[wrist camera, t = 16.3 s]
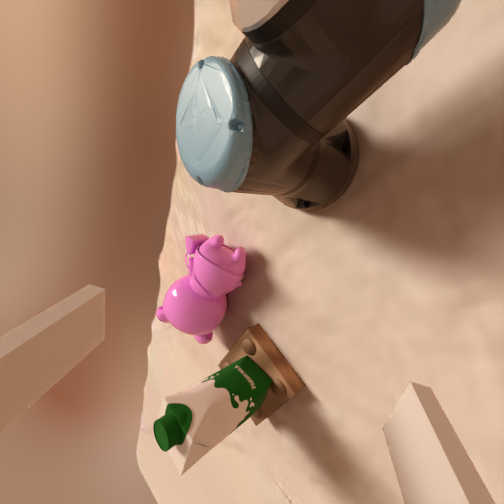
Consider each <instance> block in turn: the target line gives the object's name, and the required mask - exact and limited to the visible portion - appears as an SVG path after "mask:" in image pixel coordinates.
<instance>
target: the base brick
mask: <svg viewBox="0 0 504 504" xmlns="http://www.w3.org/2000/svg"><path fill="white" fill-rule="evenodd" d="M246 355H248V356H249V357H250V358H251V359H252V360H253V361H254V362H255V363H256V364H257V365H258V366H259V367H260V368H261V369H262V370H263V371H264V372H265V373H266V374H267V375H268V376H269V377H270V378H271V379H272V380H273V381H272V383H271V385H270V388H269V390H268V392H267V394H266V397H265V399H264V401H263V403H262V405H261V407H260V408H259V409H258V410H257V411H256V412H255V413H254V414H253V415H252V416H251V419H252V420H253V422H254V423H255V425H256V426H257V425H258V424H259V423H261V422H262V421H263V420H264V419H266V418H267V417H268V416H269V415H271V414H272V413H273V412H274V411H276V410H277V409H278V408H279V407H280V406H282V405H283V404H284V403H285V402H287V401H288V400H289V399H290V398H292V397H293V396H294V395H295V394H296V393H297V392H298V391H300V390H301V389H302V388H303V387H304V386H305V384H304V383H303V381H302V380H301V379H300V377H299V376H298V375H297V373H296V372H295V371H294V369H293V368H292V367H291V365H290V364H289V363H288V361H287V360H286V359H285V357H284V356H283V355H282V354H281V352H280V351H279V350H278V348H277V347H276V346H275V344H274V343H273V342H272V340H271V339H270V338H269V336H268V335H267V334H266V332H265V331H264V330H263V328H262V327H261V326H260V324H259V323H258V324H256V325H254V326H252V327H250V328H248V329H247V330H246V331H245V333H244V334H243V335H242V336H241V338H240V339H239V340H238V341H237V342H236V344H235V345H234V346H233V347H232V349H231V350H230V351H229V352H228V354H227V355H226V356H225V357H224V359H223V360H222V361H221V362H220V363H219V365H218V366H219V367H220V369H223V368H225V367H227V366H228V365H230V364H232V363H234V362H235V361H237V360H239V359H241V358H242V357H244V356H246Z"/></svg>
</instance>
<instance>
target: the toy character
mask: <svg viewBox="0 0 504 504" xmlns="http://www.w3.org/2000/svg"><path fill="white" fill-rule="evenodd" d="M185 242H186V248H187V253H186V255H185V261H186V265H187V268H188V270H189V275H185V276H183V277H181V278H179V279H178V280H176V281H175V282H174V283H173V284H172V285H171V287H170V288H169V289H168V291H167V293H166V295H165V298H164V302H163V306H161V307H159V308H157V311H156V316H157V318H158V319H159V320H160V321H162V322H164V323H171V325H173V326H174V327H175V328H176V329H178V330H179V331H181V332H183V333H186V334H189V335H194V338H195V339H196V341H197V342H199V343H200V344H207V343H209V342H210V341H211V340H212V336H213V333H212V331H213V330H215V329H216V328H217V326H218V325H219V324H220V323H221V321H222V320H223V318H224V315H225V313H226V308H227V299H226V295H225V294H227V293H229V292H230V291H232V290H234V289H235V288H237V287H239V286H241V285H242V284H241V281H240V280H241V279H242V278H243V276H244V274H245V265H246V251H245V249H244V248H243V247H237V249H236V250H235V251H234V250H233V249H232V248H230V247H228V246H226V245H224V244H223V243H224V238H223V237H222V236H221V235H215V236H213V237H211V238H209V237H207V236H206V235H204V234H199V235H192V236H186V238H185ZM191 254H194V258H193V257H190V258H188V261H189V267H188V264H187V255H191Z"/></svg>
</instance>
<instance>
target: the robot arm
mask: <svg viewBox="0 0 504 504" xmlns="http://www.w3.org/2000/svg"><path fill="white" fill-rule="evenodd" d="M460 2H461V0H230V8H231V16H232V20H233V23H234V25H235V26H236V27H237V28H238V29H239V30H240V31H241V32H242V33H243V34H244V35H245V38H244V40H243V41H242V43H241V44H240V46H239V47H238V49H237V50H236V52H235V53H234V55H233V56H232V58H231V59H230V61H229V60H228V59H226V58H223V57H215V56H210V57H207V58H206V59H205V60H200V61H199V62H197V63H196V64H195V65H194V66H193V68H192V69H191V70H190V72H189V73H188V75H187V77H186V79H185V81H184V84H183V86H182V89H181V92H180V95H179V100H178V105H177V112H176V138H177V145H178V149H179V153H180V156H181V159H182V162H183V164H184V166H185V168H186V170H187V171H188V173H189V174H190V176H191V177H192V178H193V179H194V180H195V181H197V182H198V183H199V184H201V185H203V186H206V187H210V188H215V189H219V190H221V191H224V192H238V193H250V194H261V195H273V196H274V197H275V198H277V199H278V200H279V201H280V202H282V203H283V204H285V205H286V206H288V207H291V208H294V209H299V210H316V209H320V208H323V207H325V206H328V205H329V204H331V203H333V202H334V201H336V200H337V199H338V198H339V197H340V196H341V195H342V194H343V193H344V192H345V191H346V189H347V188H348V186H349V185H350V183H351V181H352V180H353V177H354V175H355V172H356V169H357V165H358V159H359V147H358V141H357V138H356V135H355V133H354V131H353V129H352V127H351V126H350V125H349V124H348V122H346V121H345V120H344V119H345V118H346V117H347V116H348V115H349V114H350V113H351V112H353V111H354V110H355V109H356V108H357V107H358V106H359V105H360V104H362V103H363V102H364V101H365V100H366V99H367V98H368V97H370V96H371V95H372V94H373V93H374V92H375V91H376V90H377V89H379V88H380V87H381V86H382V85H383V84H384V83H385V82H387V81H388V80H389V79H390V78H391V77H392V76H393V75H395V74H396V73H397V72H398V71H399V70H400V69H401V68H402V67H404V66H406V65H408V64H409V63H410V62H411V61H412V60H413V59H414V58H415V57H416V56H417V54H418V53H419V52H420V50H421V49H422V48H423V47H424V46H425V45H426V44H427V43H428V42H429V41H430V40H431V39H432V38H433V37H434V36H435V35H436V34H437V33H438V32H439V31H440V30H441V29H442V28H443V27H444V26H445V25H446V24H447V23H448V22H449V21H450V19H451V18H452V16H453V15H454V14H455V12H456V10H457V9H458V7H459V5H460ZM104 338H105V289H103V288H99V287H96V286H93V285H90V284H89V285H87V286H86V287H84V288H82V289H81V290H79V291H77V292H76V293H74V294H72V295H70V296H69V297H67V298H65V299H64V300H62V301H60V302H59V303H57V304H55V305H54V306H52V307H50V308H48V309H47V310H45V311H43V312H42V313H40V314H38V315H37V316H35V317H33V318H32V319H30V320H28V321H26V322H25V323H23V324H21V325H20V326H18V327H16V328H15V329H13V330H11V331H10V332H8V333H6V334H4V335H3V336H1V337H0V434H1V433H2V432H3V431H4V430H5V429H6V428H7V427H8V426H9V425H10V424H12V423H13V422H14V421H15V420H16V419H17V418H18V417H19V416H20V415H21V414H23V413H24V412H25V411H26V410H27V409H28V408H29V407H30V406H31V405H32V404H33V403H35V402H36V401H37V400H38V399H39V398H40V397H41V396H42V395H43V394H45V393H46V392H47V391H48V390H49V389H50V388H51V387H52V386H53V385H54V384H55V383H56V382H58V381H59V380H60V379H61V378H62V377H63V376H64V375H65V374H66V373H67V372H69V371H70V370H71V369H72V368H73V367H74V366H75V365H76V364H78V363H79V362H80V361H81V360H82V359H83V358H84V357H85V356H86V355H87V354H88V353H89V352H91V351H92V350H93V349H94V348H95V347H96V346H97V345H98V344H99V343H101V342H102V341H103V340H104ZM383 431H384V435H385V438H386V441H387V445H388V448H389V452H390V455H391V458H392V462H393V465H394V468H395V472H396V475H397V478H398V482H399V485H400V489H401V492H402V495H403V499H404V502H405V504H495V502H494V501H493V499H492V497H491V495H490V493H489V492H488V490H487V488H486V486H485V484H484V483H483V481H482V479H481V477H480V475H479V474H478V472H477V470H476V468H475V467H474V465H473V463H472V461H471V459H470V458H469V456H468V454H467V452H466V450H465V449H464V447H463V445H462V443H461V441H460V440H459V438H458V436H457V434H456V433H455V431H454V429H453V427H452V425H451V424H450V422H449V420H448V418H447V416H446V415H445V413H444V411H443V409H442V407H441V406H440V404H439V402H438V400H437V398H436V397H435V395H434V393H433V391H432V390H431V388H430V387H427V386H423V385H420V384H417V383H413V382H410V383H409V385H408V386H407V388H406V390H405V391H404V393H403V395H402V396H401V398H400V400H399V402H398V403H397V405H396V407H395V408H394V410H393V412H392V413H391V415H390V417H389V418H388V420H387V422H386V423H385V425H384V427H383Z"/></svg>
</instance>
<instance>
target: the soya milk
mask: <svg viewBox="0 0 504 504" xmlns="http://www.w3.org/2000/svg"><path fill="white" fill-rule="evenodd" d="M272 381H273V380H272V379H271V378H270V377H269V376H268V375H267V374H266V373H265V372H264V371H263V370H262V369H261V368H260V367H259V366H258V365H257V364H256V363H255V362H254V361H253V360H252V359H251V358H250V357H249V356H248V355H246V356H244V357H242V358H241V359H239V360H237V361H235V362H234V363H232V364H230V365H228V366H227V367H225V368H223V369H221V370H220V371H218V372H216V373H214V374H212V375H211V376H209V377H207V378H205V379H204V380H202V381H200V382H198V383H196V384H195V385H193V386H191V387H189V388H187V389H185V390H183V391H181V392H178V393H175V394H173V395H170V396H167V397H165V398H164V399H163V402H162V406H161V410H160V414H159V416H158V419H157V420H156V421H155V422H154V435H155V438H156V441H157V443H158V445H159V447H160V448H161V449H162V450H163V451H167V452H168V454H169V456H170V457H171V459H172V461H173V463H174V464H175V466H176V468H177V470H178V471H179V473H180V475H181V476H182V475H183V474H184V473H185V472H186V471H187V470H188V469H189V468H190V467H191V466H193V465H194V464H195V463H196V462H197V461H198V460H199V459H201V458H202V457H203V456H204V455H205V454H207V452H209V451H210V450H211V449H212V448H214V447H215V446H216V445H217V444H218V443H220V442H221V441H222V440H223V439H224V438H226V437H227V436H228V435H229V434H231V433H232V432H233V431H234V430H235V429H237V428H238V427H239V426H240V425H241V424H243V423H244V422H245V421H246V420H247V419H248V418H249V417H251V416H252V415H253V414H254V413H255V412H256V411H257V410H258V409H259V408H260V407H261V405H262V403H263V401H264V399H265V397H266V394H267V392H268V390H269V388H270V385H271V383H272Z"/></svg>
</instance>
